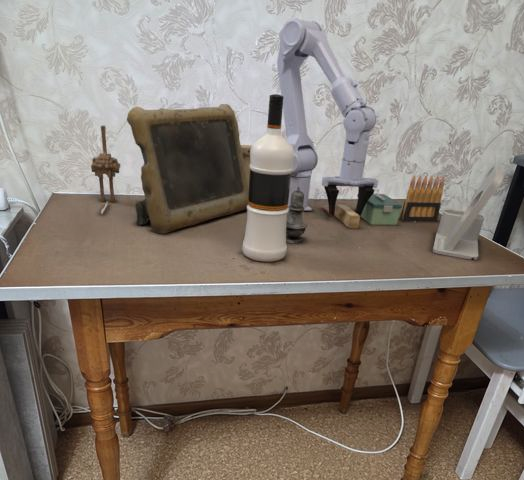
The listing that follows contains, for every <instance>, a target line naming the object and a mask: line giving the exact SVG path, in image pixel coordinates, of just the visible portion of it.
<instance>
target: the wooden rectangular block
mask: <svg viewBox="0 0 524 480" xmlns="http://www.w3.org/2000/svg"><path fill="white" fill-rule="evenodd" d="M322 210H324V212H326V213H327V214H328V215H329V216H330V217H336V218H337V219H338V220H339V221H340V222H341V223H342V224H344V225H345V226H346V227H347V228H348V229H359V226H360V220H361V217H360V216H359V215H358V214H357V213H356V211H354V210H353V209H352V208H350V207H349V206H348V205H346V203H345V204H343V203H341V204H340V203H338V204H336V206H335V213H334V215H330V214H329V206H322Z"/></svg>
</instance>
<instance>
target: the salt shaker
mask: <svg viewBox="0 0 524 480" xmlns="http://www.w3.org/2000/svg"><path fill="white" fill-rule="evenodd" d="M299 189H300V187H299V186H298V188H297V190H296V191H294V192H292V194H291V203H290V206H289V207H288V208H289V211H288V216H287V221H286V244H287V243H288V244H297V245H299V244H303V243H304V242H305V239H304V238H303V237H302V235H304V234H305V232H306V230H307V228H308V224H307V223H305V222H304V221H303V213H304V211H303V210H304V207H303V202H304V193H303V192H301V191H300V190H299Z"/></svg>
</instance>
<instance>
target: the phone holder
mask: <svg viewBox="0 0 524 480" xmlns="http://www.w3.org/2000/svg"><path fill="white" fill-rule="evenodd" d="M503 180H504V176H503V173H502V170H501V168H499V167H497V166H496V165H492V167H491V168H490V169H489V171H488V172H487V174H486V175H485V177H483V179H482V181H481V183H480V185H479V187H478V188H477V190H476V192H475V194H474V196H473V198H472V199H471V201H470V204H469V205H468V206H467V208H466V209H465V210H464V211H461V210H454V209H444V210H443V211H442V213H441V217H440V220H439V224H438V227H437V231H436V234H435V237H434V242H433V247H432V252H433V253H435V254H437V255H444V256H449V257H455V258H460V259H465V260H472V259H473V260H474V261H476V260H478V258H479V242H478V241H479V237H480V233H481V230H482V227H483V224H484V220H485V217H484V215H482V214H480V213H481V212H482V210H483V209H484V208H485V206H486V204H487V203H488V202H489V201H490V200H491V198H492V197H493V195H494V194H495V192H496V191H497V189H498V188H499V187H500V185H501V184H502V183H503Z"/></svg>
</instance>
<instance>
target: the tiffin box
mask: <svg viewBox="0 0 524 480" xmlns="http://www.w3.org/2000/svg"><path fill="white" fill-rule="evenodd" d="M357 198H358V195H357ZM357 202H358V200H357ZM357 202H356V203H357ZM402 209H403V204H401V203H400V202H398V201H396V200H395V199H393V198H391V197H390V196H388V195H387V194H385V193H377V192H376V193H373V195H372V196H371V197H370V199H369V200H368V202H367V203H366V205H365V207H364V209H363V211H362V214H361V216H360V218H361V219H363V220H364V221H365V222H367V223H368V224H369V225H373V226H374V225H376V226H377V225H378V226H379V225H380V226H381V225H384V226H385V225H387V226H388V225H389V226H397V225H398V222H399V219H400V214H401V213H400V212H401V210H402Z"/></svg>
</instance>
